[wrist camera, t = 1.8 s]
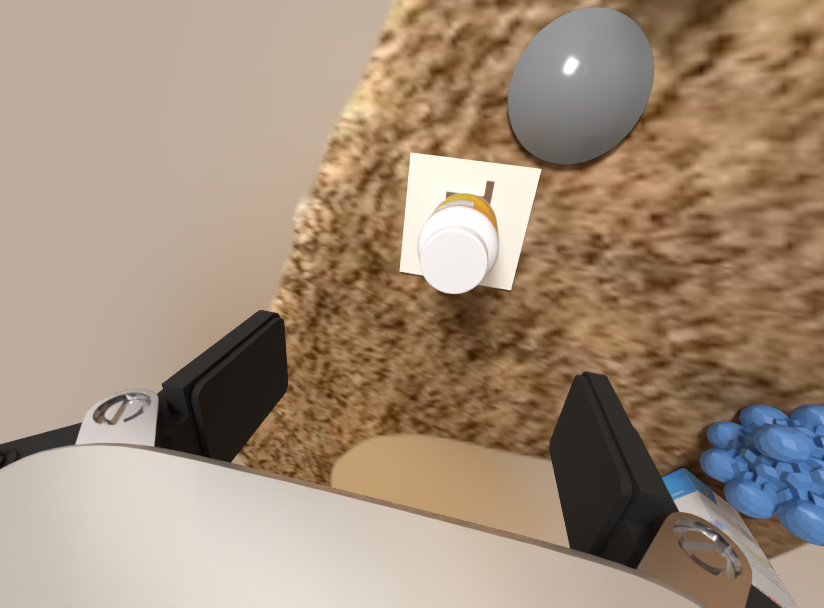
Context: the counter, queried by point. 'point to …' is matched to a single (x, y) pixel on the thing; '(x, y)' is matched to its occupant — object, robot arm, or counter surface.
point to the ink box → (727, 529)
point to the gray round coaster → (580, 85)
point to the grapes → (773, 466)
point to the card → (491, 181)
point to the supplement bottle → (458, 243)
